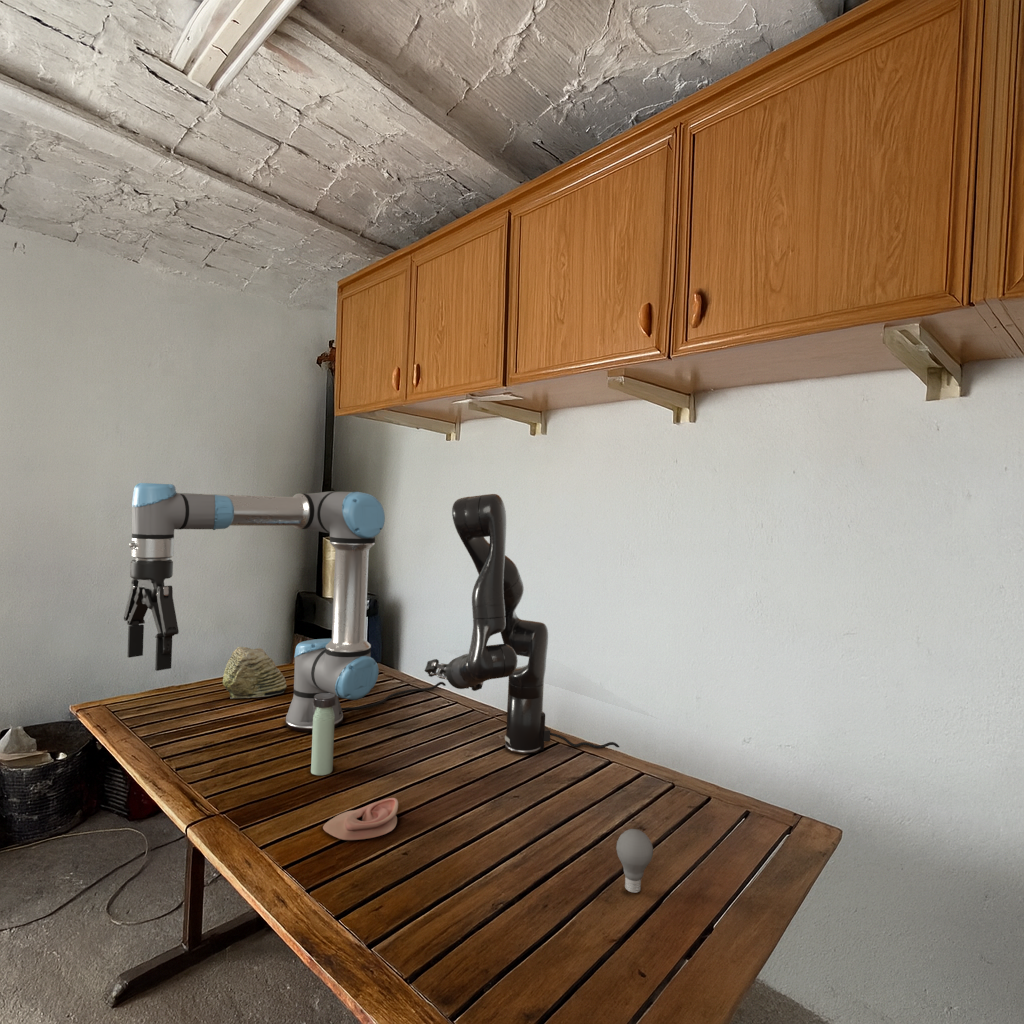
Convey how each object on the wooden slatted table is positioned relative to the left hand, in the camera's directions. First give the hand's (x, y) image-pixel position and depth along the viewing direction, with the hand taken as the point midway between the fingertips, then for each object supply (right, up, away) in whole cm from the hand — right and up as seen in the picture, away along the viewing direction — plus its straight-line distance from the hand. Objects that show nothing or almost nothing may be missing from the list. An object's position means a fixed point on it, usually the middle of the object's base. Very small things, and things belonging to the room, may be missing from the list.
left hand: (148, 662), depth 129 cm
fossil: (-6, -27, +69) cm, 74 cm away
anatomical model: (+45, -30, -7) cm, 55 cm away
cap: (+31, -12, +17) cm, 37 cm away
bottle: (+30, -29, +17) cm, 45 cm away
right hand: (+57, -12, +34) cm, 68 cm away
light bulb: (+94, -33, -24) cm, 103 cm away
